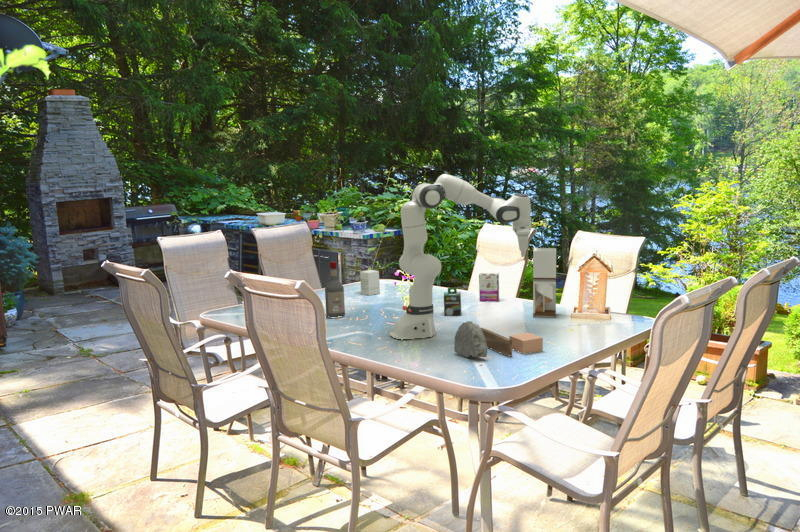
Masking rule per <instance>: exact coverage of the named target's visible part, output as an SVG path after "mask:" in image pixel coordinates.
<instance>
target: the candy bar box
mask: <svg viewBox="0 0 800 532" xmlns="http://www.w3.org/2000/svg"><path fill="white" fill-rule="evenodd" d="M478 282H479V286H478V288H479V289H478V290H479V302H486V301H498V302H499V301H500V272H499V273H497V272H496V273H495V272H491V273H489V272H485V273H484V272H480V273H479V274H478Z"/></svg>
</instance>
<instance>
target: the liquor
mask: <svg viewBox="0 0 800 532" xmlns="http://www.w3.org/2000/svg"><path fill="white" fill-rule="evenodd" d="M337 267H338V266H337V261H330V262H329V268H330V279H329V281H328V282H327V283H326V284H325V287H324V295H325V296H324V297H325V314H327V315H326V317H327V316H329V317H338V316H344V315H345V316H346V307H345V306H346V305H345V288H344V285H343V283H341V281H339V280H338V274H337V273H338V272H337ZM345 316H344V317H345ZM329 317H328V318H329Z"/></svg>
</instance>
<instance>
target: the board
mask: <svg viewBox="0 0 800 532" xmlns="http://www.w3.org/2000/svg"><path fill="white" fill-rule="evenodd" d="M480 328H481V330H482V332H483V334H484V337H485V339H486V344H487V347H489V348H492V349H494V350H496V351H498V352H501V353H503V354H505V355H507V356H509V355H512V356H513V350H512V340H511V339H509V337H506V336H504V335H501V334H499V333H496V332H494V331H491V330H489V329H487V328H483V327H480ZM489 348H488V349H489ZM492 349H491V350H492ZM494 350H493V351H494ZM496 351H495V352H496ZM498 352H497V353H498ZM501 353H500V354H501ZM503 354H502V355H503ZM505 355H504V356H505ZM507 356H506V357H507ZM509 357H510V356H509Z"/></svg>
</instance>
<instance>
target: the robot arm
mask: <svg viewBox="0 0 800 532" xmlns="http://www.w3.org/2000/svg"><path fill="white" fill-rule="evenodd" d="M444 199H447V200H449V201H451V202H453V203H454V204H458V205H461V206H468V205H470V204H474V205H477V206H478V207H481V208H483V209H485V210H487V213H489V215H491V216H492V217H493V218H494V219H495V220H496V221H498V222H499V223H500V224H509V223H512V231H513V232H514V233H515V235H516V237H517V241H518V249H519V251H520V255H521V258H525V257H526V251H527V250H528V249H529V236H530V234H531V230H532V218H531V213H532V205H531V198H530V197H529V195H527V194H525V193H520V192H518V193H514V194H513V195H512V196H511V197H510V198H508V199H507V200H506V199H505V198H503V197H498V196H496V197H493V196H490V195H487V194H485V193H483V192H481V191H479V190H477V188H475V186H474V185H472V184H471V183H469V182H468V181H466V180H464V179H462V178H460V177H457V176H454V175H451V174H447V173H442V174H441V175H439V176H438V177H437V178H436V180H435V182H434V183H433V184H431V183H427V182H420V183H418V184H417V185H415V186H414V187H413V189H412V191H411V195H410V198H409V201H406V202H404V203H403V204H402V205H401V209H400V219H401V221H400V222H401V228H402V235H403V252H402V255H401V256H400V257H399V262H398V265H399V268H400V269H401V271H403V272H404V273H406V274H408V275H412V276H414V278H413V283H412V285H411V286H410V287H409V289H408V302H409V304H408V306H406V305H403V306H402V307H401V309H402V310H403V311H406V312H405V314H404V315H402V316H401V317H400V318H399V319H398V320H396V322H395V324H394V328H393V329H394V330H393V331H390V332H389V336H390V337H391V336H392V337H393V339H394V338H396V339H395V340H397V339H401V340H400V341H404V340H403V339H412V340H415V339H414V338H422V339H427V338H426V337H431V338H433V337H432V336H435V335H436V334H437V330H436V326H435V321H434V320H435V319H434V314H435V313H434V304H433V290H434V289H433V287H434V283H435V280H436V278H437V276H439V275H440V273H441V272H442V262H441V260H440V259H439V258H438V257H436V256H434V255H432V254H428V253H424V248H425V244H426V243H427V241H428V232H427V231H428V230H427V226H426V220H425V219H426V218H425V214H426V210H427V209H429V210H432V209H435V208H437V207H438V206H440V204H441V203H442V202H443V201H444ZM392 337H391V338H392Z"/></svg>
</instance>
